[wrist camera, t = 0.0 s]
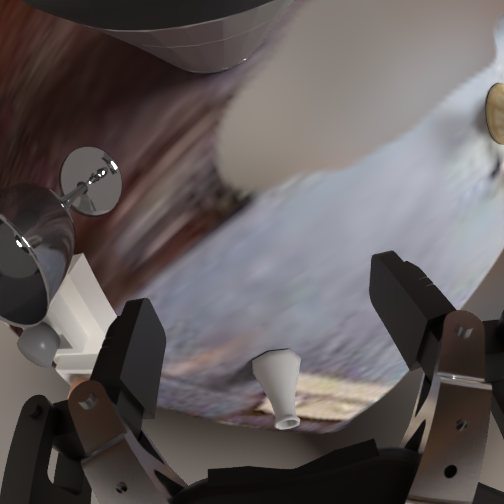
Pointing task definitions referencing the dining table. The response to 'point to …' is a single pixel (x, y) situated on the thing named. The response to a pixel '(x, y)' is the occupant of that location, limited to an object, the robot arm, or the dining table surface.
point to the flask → (279, 383)
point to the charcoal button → (39, 344)
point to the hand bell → (496, 112)
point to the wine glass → (49, 232)
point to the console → (79, 321)
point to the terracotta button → (76, 383)
